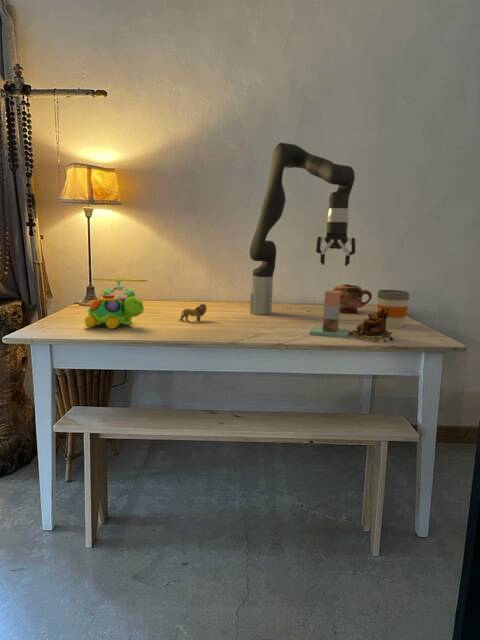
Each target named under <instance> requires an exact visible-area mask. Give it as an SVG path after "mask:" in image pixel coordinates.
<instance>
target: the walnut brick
mask: <svg viewBox="0 0 480 640" xmlns="http://www.w3.org/2000/svg"><path fill="white" fill-rule="evenodd" d="M339 321H340V316H339V317H338V319H325V318H324V317H323V322H322V324H323V325H322V327H323V331H325V332H337V330H338V328H339V324H340V323H339Z"/></svg>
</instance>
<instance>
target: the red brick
mask: <svg viewBox="0 0 480 640" xmlns="http://www.w3.org/2000/svg"><path fill="white" fill-rule="evenodd" d="M339 304H340V291H334V290H332V289H329V290H328V289H327V290H325V291H324V304H323V305H327V306H338V305H339Z"/></svg>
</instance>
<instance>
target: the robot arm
mask: <svg viewBox="0 0 480 640" xmlns="http://www.w3.org/2000/svg"><path fill="white" fill-rule="evenodd" d="M285 168H286V169H287V168H290V169H292V168H296V169H303V170H306V171H307V173H309V175H313V176H315V177H317V178H319V179H322V180H323V181H325V182H326V183H328V184H331V185H334V186H335V185H337V186H338V188H337V190H336V191H333V192H331V193H330V194H329V197H328V198H329V199H328V211H327V219H326V220H327V222H326V235H325V237H323V236H318V237H317V240H316V250H315V252H316V253H317V254H320V261H319V262H320V263H321V265H323V266H325V264H326V263H325V262H326V252H328V251H329V249H331V250H335V249H336V250H341V249H342V250H343V252H344V254H345V259H344V260H345V261H344V267H348V265H349V264H350V260H351V256H352V255H355V254H356V238H355V237H348V227H349V226H348V223H349V202H350V201H349V199H350V195H351V193H352V190H353V186H354V183H355V179H356V178H355V177H356V176H355V175H356V173H355V171H354V168H353V167H352V166H350V165H344V164H337V163H335V162H333V161H331V160H329V159H327V158H324V157H320V156H318V155H314V154H311V153H309V152H308V151H306V150H305V149H303V148H302V147H300V146H298V145H296V144H294V143H286V142H279V143H277V145H275V148H274V150H273V153H272V158H271V164H270V171H269V177H268V180H267V181H268V182H267V187H266V190H265V194H264V197H263V201H262V206H261V210H260V215H259V219H258V222H257V226H256V229H255V232H254V233H253V234H254V235H253V237H252V240H251V243H250V248H249V256H250V259H251V260H252V261H255V262H261V265H259V266H258V267H257V268H254V269H253V270H252V287H251V290H252V291H251V292H250V306H249V307H250V309H249V313H250V314H253V315H259V316H269V315H272V312H273V311H272V310H273V309H272V308H273V307H272V306H273V287H274V286H273V285H274V284H273V283H274V274H275V270H276V262H277V261H276V259H277V246H276V244H275V242H274V241H272V240H266V239H267V236H268V234H269V233H270V231H271V230H272V228H273V227H274V226H275V225H276V224H277V223H278V222H279V220H280V219H281V218H282V215H283V214H284V213H283V212H284V209H285V205H286V198H287V197H286V192H285V190H284V186H283V176H284V171H285ZM324 241H325V243H326V245H325V247H324V248H323V249H322V248H321V247H322V243H324ZM348 242H349V244H350V245H351V250H350V251H349V249H348V247H347V246H346V244H347V243H348ZM321 249H322V250H321Z"/></svg>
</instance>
